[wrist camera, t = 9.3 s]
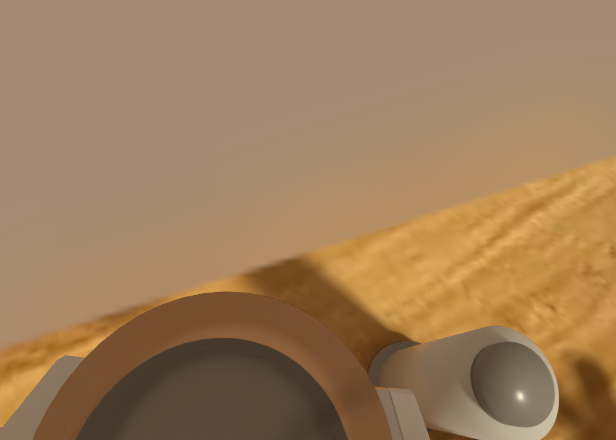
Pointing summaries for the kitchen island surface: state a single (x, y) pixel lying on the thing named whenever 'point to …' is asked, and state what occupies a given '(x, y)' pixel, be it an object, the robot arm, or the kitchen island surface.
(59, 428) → the copper cartridge
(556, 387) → the cylinder
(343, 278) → the kitchen island surface
